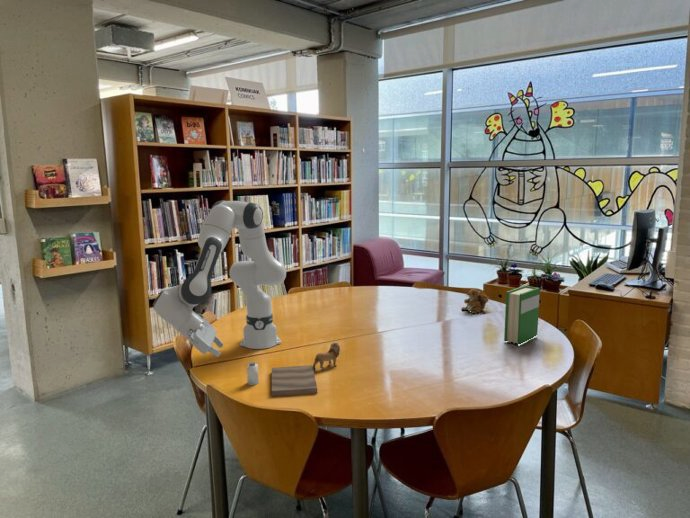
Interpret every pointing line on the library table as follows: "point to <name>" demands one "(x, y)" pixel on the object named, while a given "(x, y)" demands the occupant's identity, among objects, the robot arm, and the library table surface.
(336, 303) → the library table surface
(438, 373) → the library table surface
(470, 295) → the stuffed squirrel
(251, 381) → the connector casing
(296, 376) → the display block
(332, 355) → the lion figurine
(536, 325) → the hardback book
